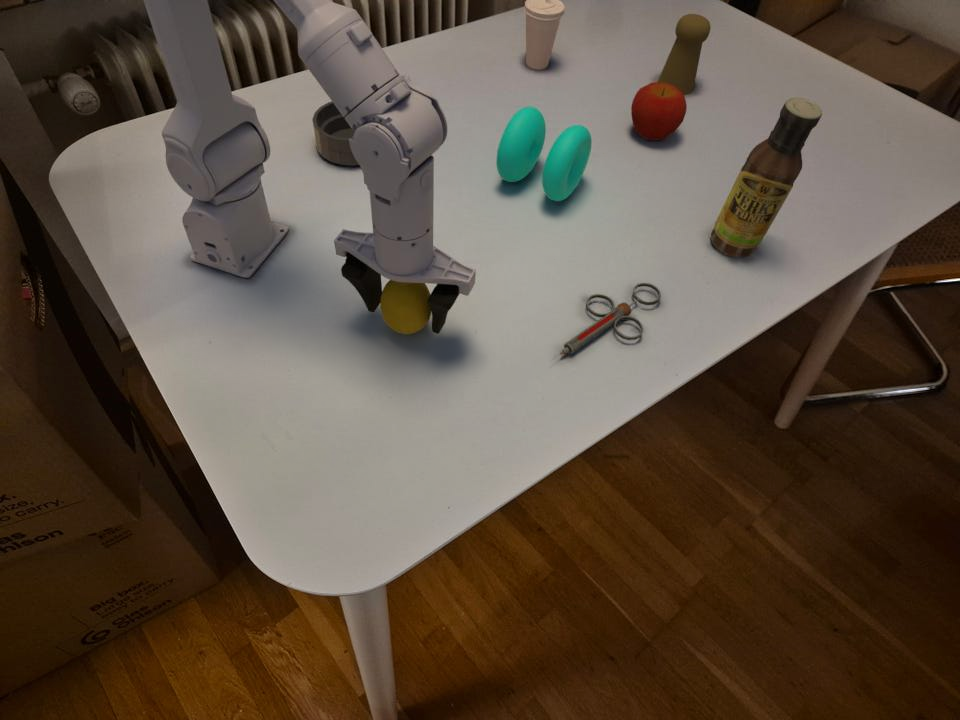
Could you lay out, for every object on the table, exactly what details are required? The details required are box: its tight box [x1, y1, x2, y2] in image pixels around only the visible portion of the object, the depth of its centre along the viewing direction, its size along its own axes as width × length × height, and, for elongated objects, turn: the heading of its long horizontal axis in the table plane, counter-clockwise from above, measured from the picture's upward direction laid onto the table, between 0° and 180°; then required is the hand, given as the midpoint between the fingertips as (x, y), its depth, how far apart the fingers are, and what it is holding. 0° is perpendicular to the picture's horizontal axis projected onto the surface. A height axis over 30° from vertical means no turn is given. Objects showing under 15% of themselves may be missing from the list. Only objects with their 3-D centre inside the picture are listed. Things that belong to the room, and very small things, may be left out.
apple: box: [630, 81, 688, 141], centre depth 98 cm, size 8×8×8 cm
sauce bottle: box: [710, 97, 823, 258], centre depth 79 cm, size 6×6×20 cm
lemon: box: [379, 279, 432, 335], centre depth 72 cm, size 6×6×8 cm
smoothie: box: [523, 0, 565, 71], centre depth 107 cm, size 6×6×14 cm
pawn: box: [657, 13, 711, 96], centre depth 106 cm, size 6×6×11 cm
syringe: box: [550, 282, 662, 362], centre depth 76 cm, size 8×18×2 cm, turn 131°
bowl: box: [311, 100, 360, 166], centre depth 93 cm, size 10×10×4 cm
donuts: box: [496, 106, 592, 202], centre depth 88 cm, size 10×10×10 cm
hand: (406, 316), depth 73 cm, fingers open, 7 cm apart
